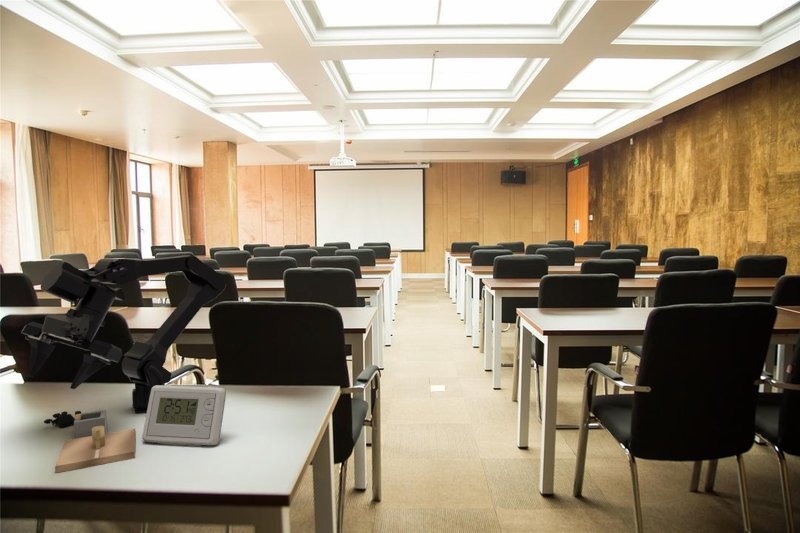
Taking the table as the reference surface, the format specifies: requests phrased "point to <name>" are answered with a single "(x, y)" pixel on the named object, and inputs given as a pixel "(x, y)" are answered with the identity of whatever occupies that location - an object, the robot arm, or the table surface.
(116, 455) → the wooden base plate
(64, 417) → the wireless earbuds
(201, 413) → the digital clock
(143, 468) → the table surface
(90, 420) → the square gray frame
